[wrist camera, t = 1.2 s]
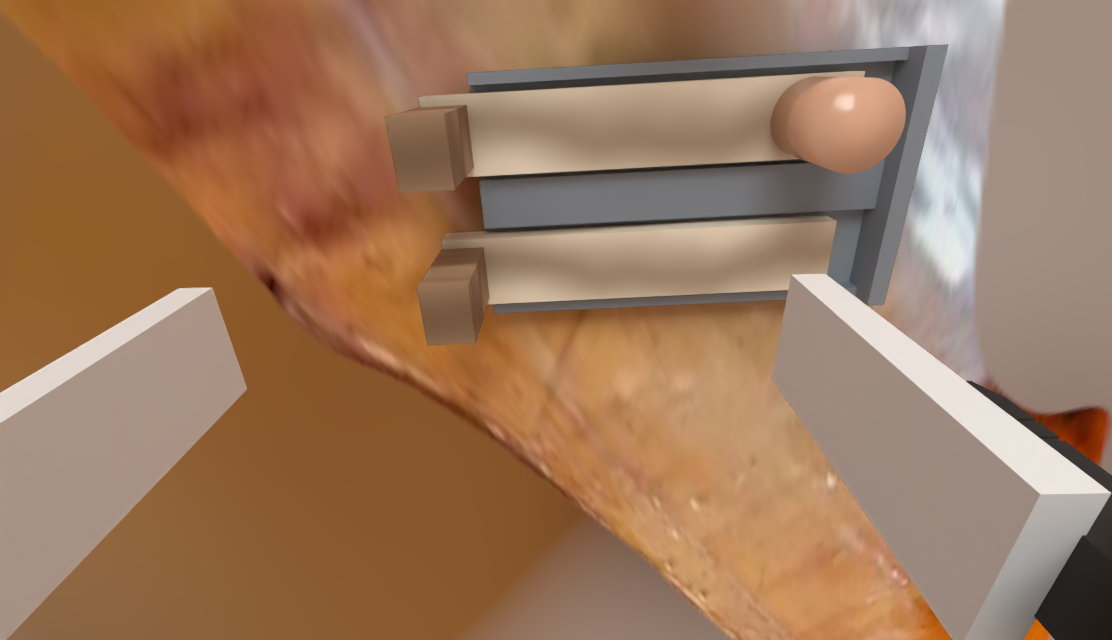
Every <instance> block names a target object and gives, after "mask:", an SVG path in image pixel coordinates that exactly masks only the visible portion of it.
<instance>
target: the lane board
mask: <svg viewBox="0 0 1112 640" xmlns="http://www.w3.org/2000/svg"><path fill="white" fill-rule="evenodd" d="M947 48H948V44H946V45H929V46H913V47H897V48H880V49H863V50H846V51H829V52H812V53H796V54H779V55H762V56H745V57H728V58H711V59H694V60H677V61H660V62H643V63H627V64H610V65H593V66H576V67H559V68H542V69H525V70H508V71H491V72H474V73H466V74H467V83H468V85H471V93H480V92H497V91H514V90H531V89H549V88H566V87H583V86H600V85H617V84H635V83H652V82H669V81H686V80H703V79H721V78H738V77H755V76H772V75H789V74H806V73H824V72H841V71H865V75H864V77H869V78H879V79H883V80H886V81H888V82H889V83H891V84H892V85H894V86H895V87H896V88H897V89H898V90H899V92H900V94H901V95H902V97H903V100H904V103H905V109H906V119H905V125H904V128H903V132H902V134H901V137H900V139H899V140H898V142H897V144H896V145H895V147H894V148H893V150H892V151H891V152H890V153H889V154H888V155H887V156H886V157H885V158H884V159H883V160H882V161H880V162H879V163H878V164H876V165H875V166H873V167H871V168H869V169H867V170H864V171H861V172H857V173H851V174H844V173H838V172H835V171H832V170H829V169H826V168H824V167H821V166H818V165H816V164H813V163H810V162H807V161H805V160H802V159H791V160H773V161H754V162H736V163H717V164H699V165H680V166H662V167H644V168H625V169H607V170H588V171H570V172H551V173H533V174H514V175H496V176H481V179H480V180H479V186H480V194H481V203H482V212H483V220H484V229H487V231H495V230H515V229H534V228H553V227H573V226H592V225H612V224H631V223H651V222H670V221H690V220H709V219H728V218H748V217H767V216H787V215H806V214H825V215H827V216H829V217H830V218H832V219H834V220H836V221H837V223H836V229H835V234H834V239H833V244H832V250H831V255H830V260H829V266H828V271H827V275H828V276H829V277H830V278H832V279H833V280H834V281H835V282H837V283H838V284H839V285H841V286H842V287H843V288H845V289H846V290H847V291H848V292H850V293H851V294H852V295H854V296H856V297H857V298H858V299H860V300H861V301H862V302H864V303H865V304H866V305H884V303H885V299H886V295H887V291H888V286H889V282H890V278H891V274H892V270H893V266H894V262H895V258H896V254H897V250H898V246H899V242H900V238H901V234H902V230H903V226H904V222H905V218H906V214H907V210H908V206H909V202H910V198H911V194H912V190H913V186H914V181H915V177H916V173H917V169H918V165H919V161H920V157H921V153H922V149H923V145H924V141H925V137H926V133H927V129H928V125H929V121H930V117H931V113H932V109H933V105H934V101H935V97H936V93H937V89H938V85H939V80H940V76H941V72H942V68H943V64H944V60H945V56H946V52H947ZM787 294H788V290H779V291H758V292H737V293H716V294H695V295H674V296H653V297H633V298H612V299H591V300H570V301H549V302H528V303H507V304H493V306H494V313H511V312H532V311H553V310H574V309H596V308H617V307H638V306H659V305H680V304H701V303H722V302H743V301H764V300H785V299H787Z"/></svg>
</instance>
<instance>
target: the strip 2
mask: <svg viewBox="0 0 1112 640" xmlns="http://www.w3.org/2000/svg"><path fill="white" fill-rule="evenodd" d="M836 223H837V221H836V220H834V219H832V218H830V217H829V216H827V215H825V214H806V215H787V216H767V217H748V218H728V219H709V220H690V221H670V222H651V223H631V224H612V225H592V226H573V227H553V228H534V229H515V230H495V231H476V232H456V233H446V235H445V236H444V238H443V239H442V241H441V243H442V250H441V251H440V253H439V254H438V256H437V257H436V259H435V261H434V262H433V264H432V265H431V267H430V268H429V270H428V272H427V273H426V275H425V276H424V278H423V279H422V281H421V282H420V284H419V286H418V287H417V291H418V297H419V302H420V308H421V313H422V318H423V324H424V329H425V335H426V340H427V345H428V346H429V345H451V344H472V343H476V341H477V338H478V334H479V331H480V328H481V324H482V321H483V317H484V314H485V311H486V307H487V304H507V303H528V302H549V301H570V300H591V299H612V298H633V297H653V296H674V295H695V294H716V293H737V292H758V291H779V290H788V289H789V284H790V278H791V275H796V274H826V275H827V271H828V266H829V260H830V255H831V250H832V244H833V239H834V234H835V229H836Z"/></svg>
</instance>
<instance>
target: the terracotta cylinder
mask: <svg viewBox="0 0 1112 640" xmlns="http://www.w3.org/2000/svg"><path fill="white" fill-rule="evenodd" d="M905 119H906V109H905V103H904V100H903V97H902V95H901V94H900V92H899V90H898V89H897V88H896V87H895V86H894V85H892V84H891V83H889V82H888V81H886V80H883V79H879V78H869V77H830V76H813V77H808V78H804V79H802V80H800V81H798V82H796V83H794V84H793V85H791V86H790V87H789V88H788V89H787V90H786V91H785V92H784V93H783V94H782V95H781V97H780V98H779V100H778V101H777V103H776V105H775V107H774V110H773V113H772V117H771V133H772V136H773V139H774V141H775V143H776V145H777V146H778V147H779V148H780V149H781V150H782V151H783V152H785V153H787V154H789V155H791V156H794V157H797V158H799V159H802V160H805V161H807V162H810V163H813V164H816V165H818V166H821V167H824V168H826V169H829V170H832V171H835V172H838V173H844V174H851V173H857V172H861V171H864V170H867V169H869V168H871V167H873V166H875V165H876V164H878V163H879V162H880V161H882V160H883V159H884V158H885V157H886V156H887V155H888V154H889V153H890V152H891V151H892V150H893V148H894V147H895V145H896V144H897V142H898V140H899V139H900V137H901V134H902V132H903V128H904V125H905Z"/></svg>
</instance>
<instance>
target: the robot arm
mask: <svg viewBox="0 0 1112 640" xmlns="http://www.w3.org/2000/svg"><path fill="white" fill-rule="evenodd" d="M772 380H773V381H774V383H775V384H776V386H777V387H778V388H779V390H780V391H781V393H782V394H783V396H784V397H785V399H786V400H787V401H788V403H789V404H790V406H791V407H792V409H793V410H794V412H795V413H796V414H797V416H798V417H799V419H800V420H801V422H802V423H803V425H804V426H805V427H806V429H807V430H808V432H809V433H810V435H811V436H812V438H813V439H814V440H815V442H816V443H817V445H818V446H819V448H820V449H821V451H822V452H823V453H824V455H825V456H826V458H827V459H828V461H829V462H830V464H831V465H832V466H833V468H834V469H835V471H836V472H837V474H838V475H839V477H840V478H841V479H842V481H843V482H844V484H845V485H846V487H847V488H848V490H849V491H850V492H851V494H852V495H853V497H854V498H855V500H856V501H857V503H858V504H859V505H860V507H861V508H862V510H863V511H864V513H865V514H866V516H867V517H868V518H869V520H870V521H871V523H872V524H873V526H874V527H875V529H876V530H877V532H878V533H879V534H880V536H881V537H882V539H883V540H884V542H885V543H886V545H887V546H888V547H889V549H890V550H891V552H892V553H893V555H894V556H895V558H896V559H897V560H898V562H899V563H900V565H901V566H902V568H903V569H904V571H905V572H906V573H907V575H908V576H909V578H910V579H911V581H912V582H913V584H914V585H915V586H916V588H917V589H918V591H919V592H920V594H921V595H922V597H923V598H924V599H925V601H926V602H927V604H928V605H929V607H930V608H931V610H932V611H933V612H934V614H935V615H936V617H937V618H938V620H939V621H940V623H941V624H942V625H943V627H944V628H945V630H946V631H947V633H948V634H949V636H950V637H951V638H952V640H1023V639H1024V638H1025V636H1026V634H1027V633H1028V631H1029V629H1030V628H1031V626H1032V624H1033V623H1034V621H1035V619H1036V618H1037V620H1038V621H1039V622H1040V623H1041V624H1042V625H1043V626H1044V628H1045V629H1046V630H1047V631H1048V632H1049V633H1050V635H1051V636H1052V637H1053V638H1054V639H1055V640H1112V475H1110V474H1109V473H1107V472H1106V471H1105V470H1104V469H1102V468H1101V467H1099V466H1098V465H1097V464H1095V463H1094V462H1093V461H1091V460H1090V459H1089V458H1087V457H1086V456H1085V455H1083V454H1082V453H1080V452H1079V451H1078V450H1076V449H1075V448H1074V447H1072V446H1071V445H1070V444H1068V443H1067V442H1065V441H1059V439H1058V437H1059V436H1057V435H1056V434H1055V433H1053V432H1052V431H1050V430H1049V429H1048V428H1046V427H1045V426H1044V425H1042V424H1041V423H1035V421H1034V418H1033V417H1031V416H1030V415H1029V414H1027V413H1026V412H1025V411H1023V410H1022V409H1021V408H1019V407H1018V406H1016V405H1015V404H1014V403H1012V402H1011V401H1010V400H1008V399H1007V398H1005V397H1003V396H1001V395H999V394H997V393H995V392H993V391H990V390H988V389H986V388H984V387H982V386H980V385H978V384H976V383H974V382H972V381H965V380H963V379H962V378H961V377H959V376H958V375H957V374H955V373H954V372H953V371H952V370H950V369H949V368H948V367H946V366H945V365H944V364H942V363H941V362H940V361H938V360H937V359H936V358H935V357H933V356H932V355H931V354H929V353H928V352H927V351H925V350H924V349H923V348H922V347H920V346H919V345H918V344H916V343H915V342H914V341H912V340H911V339H910V338H908V337H907V336H906V335H905V334H903V333H902V332H901V331H899V330H898V329H897V328H895V327H894V326H893V325H892V324H890V323H889V322H888V321H886V320H885V319H884V318H882V317H881V316H880V315H878V314H877V313H876V312H875V311H873V310H872V309H871V308H869V307H868V306H867V305H865V304H864V303H863V302H862V301H860V300H859V299H858V298H856V297H855V296H854V295H852V294H851V293H850V292H848V291H847V290H846V289H845V288H843V287H842V286H841V285H839V284H838V283H837V282H835V281H834V280H833V279H832V278H830V277H829V276H828V275H826V274H796V275H791V278H790V284H789V289H788V294H787V300H786V305H785V310H784V315H783V321H782V326H781V331H780V336H779V342H778V347H777V352H776V358H775V363H774V368H773V373H772ZM246 390H247V387H246V384H245V381H244V378H243V376H242V373H241V370H240V367H239V364H238V361H237V358H236V355H235V352H234V349H233V346H232V344H231V341H230V338H229V335H228V332H227V329H226V326H225V323H224V320H223V317H222V314H221V312H220V308H219V306H218V303H217V300H216V297H215V294H214V291H213V288H179V289H177V290H175V291H173V292H172V293H170V294H168V295H167V296H165V297H164V298H161V299H160V300H158V301H156V302H155V303H153V304H151V305H150V306H148V307H146V308H144V309H143V310H141V311H139V312H138V313H136V314H134V315H133V316H131V317H129V318H127V319H126V320H124V321H122V322H120V323H119V324H117V325H115V326H114V327H112V328H110V329H109V330H107V331H105V332H103V333H102V334H100V335H98V336H97V337H95V338H93V339H91V340H90V341H88V342H86V343H85V344H83V345H81V346H79V347H78V348H76V349H74V350H73V351H71V352H69V353H67V354H66V355H64V356H62V357H61V358H59V359H57V360H56V361H54V362H52V363H50V364H49V365H47V366H45V367H44V368H42V369H40V370H38V371H37V372H35V373H33V374H32V375H30V376H28V377H27V378H25V379H23V380H22V381H20V382H18V383H16V384H14V385H13V386H11V387H9V388H8V389H6V390H4V391H3V392H1V393H0V640H6V639H7V638H8V637H9V636H10V635H11V634H12V633H13V632H14V631H15V630H16V629H17V628H18V627H19V626H20V625H21V624H22V623H23V622H24V621H25V620H26V619H27V617H29V615H30V614H31V613H32V612H33V611H34V610H35V609H36V608H37V607H38V606H39V605H40V604H41V603H42V602H43V601H44V600H45V599H46V598H47V597H48V596H49V595H50V593H52V592H53V590H54V589H55V588H56V587H57V586H58V585H59V584H60V583H61V582H62V581H63V580H64V579H65V578H66V577H67V576H68V575H69V574H70V573H71V572H72V571H73V570H74V569H75V568H76V566H77V565H78V564H79V563H80V562H81V561H82V560H83V559H84V558H85V557H86V556H87V555H88V554H89V553H90V552H91V551H92V550H93V549H94V548H95V547H96V546H97V545H98V544H99V543H100V542H101V541H102V540H103V538H104V537H105V536H106V535H107V534H108V533H109V532H110V531H111V530H112V529H113V528H114V527H115V526H116V525H117V524H118V523H119V522H120V521H121V520H122V519H123V518H124V517H125V516H126V514H127V513H128V512H129V511H130V510H131V509H132V508H133V507H134V506H135V505H136V504H137V503H138V502H139V501H140V500H141V499H142V498H143V497H144V496H145V495H146V494H147V492H149V491H150V490H151V489H152V488H153V486H154V485H155V484H156V483H157V482H158V481H159V480H160V479H161V478H162V477H163V476H164V475H165V474H166V473H167V472H168V471H169V470H170V468H172V467H173V466H174V465H175V463H177V462H178V460H179V459H180V458H181V457H182V456H183V455H184V454H185V453H186V452H187V451H188V450H189V449H190V448H191V447H192V446H193V445H194V444H195V443H196V442H197V441H198V440H199V439H200V438H201V436H203V434H204V433H205V432H206V431H207V430H208V429H209V428H210V427H211V426H212V425H213V424H214V423H215V422H216V421H217V420H218V419H219V418H220V417H221V416H222V415H223V414H224V413H225V412H226V411H227V409H228V408H229V407H230V406H231V405H232V404H233V403H234V402H235V401H236V400H237V399H238V398H239V397H240V396H241V395H242V394H243V393H244V392H245V391H246Z"/></svg>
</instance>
